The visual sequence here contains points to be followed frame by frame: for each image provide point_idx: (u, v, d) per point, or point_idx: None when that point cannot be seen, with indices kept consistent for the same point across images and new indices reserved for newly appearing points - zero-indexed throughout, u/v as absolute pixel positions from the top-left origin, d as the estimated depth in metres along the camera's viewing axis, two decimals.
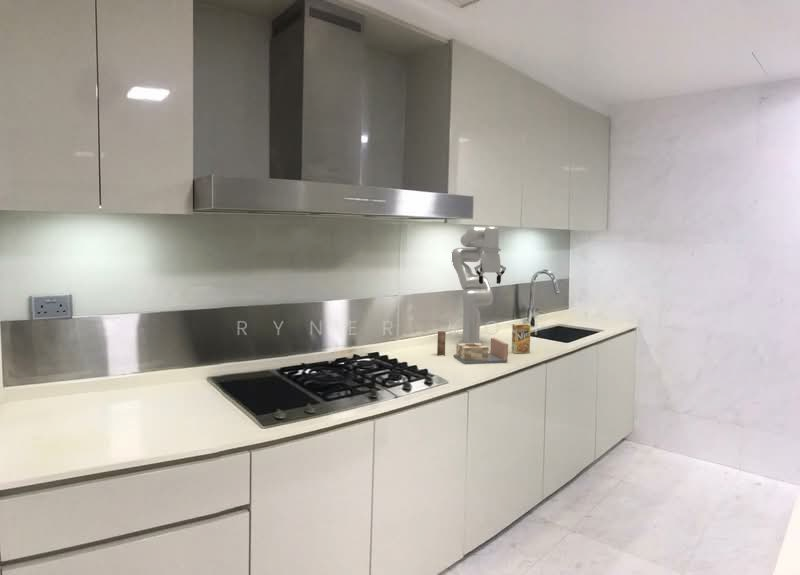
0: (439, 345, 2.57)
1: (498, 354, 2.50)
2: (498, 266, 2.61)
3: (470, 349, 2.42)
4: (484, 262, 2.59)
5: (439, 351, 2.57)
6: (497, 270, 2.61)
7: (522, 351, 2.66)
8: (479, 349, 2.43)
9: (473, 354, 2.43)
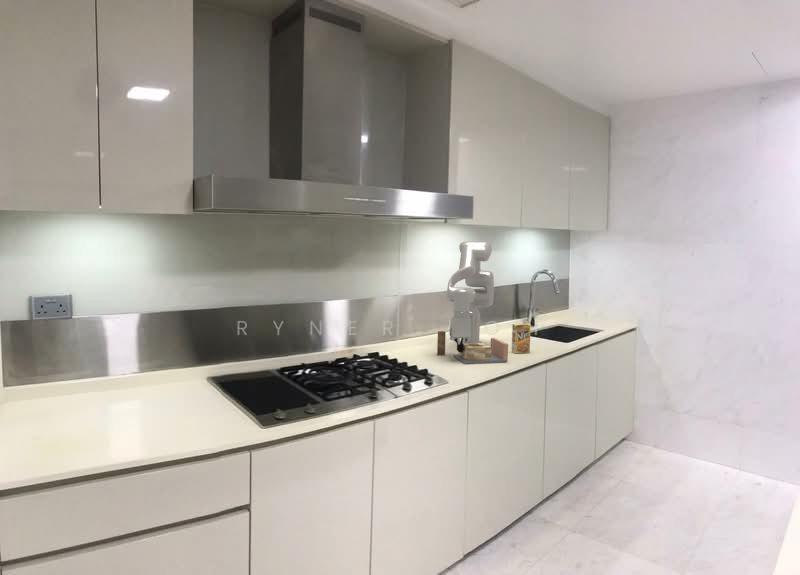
0: (439, 345, 2.57)
1: (498, 354, 2.50)
2: (469, 331, 2.44)
3: (473, 349, 2.42)
4: (454, 327, 2.42)
5: (439, 351, 2.57)
6: (468, 335, 2.44)
7: (522, 351, 2.66)
8: (482, 349, 2.44)
9: (476, 354, 2.43)
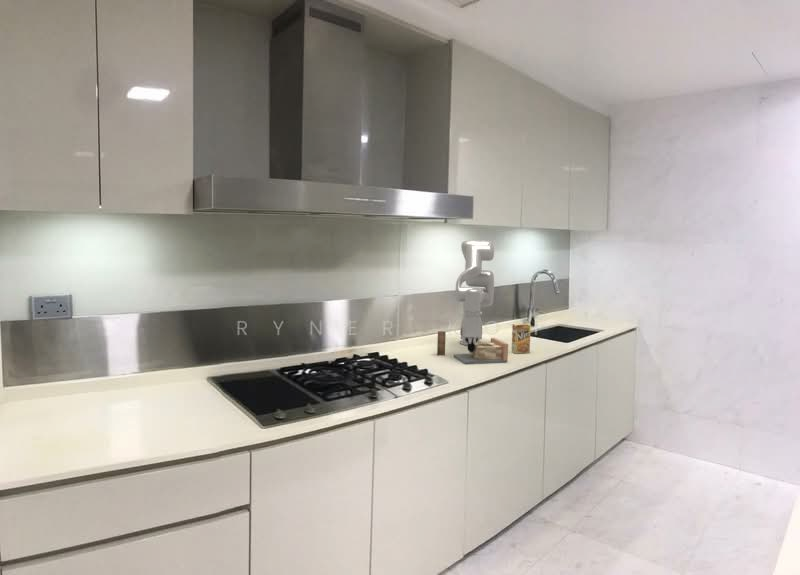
0: (439, 345, 2.57)
1: None
2: (480, 331, 2.45)
3: (484, 349, 2.44)
4: (465, 327, 2.44)
5: (439, 351, 2.57)
6: (479, 335, 2.46)
7: (522, 351, 2.66)
8: (493, 349, 2.45)
9: (487, 354, 2.44)
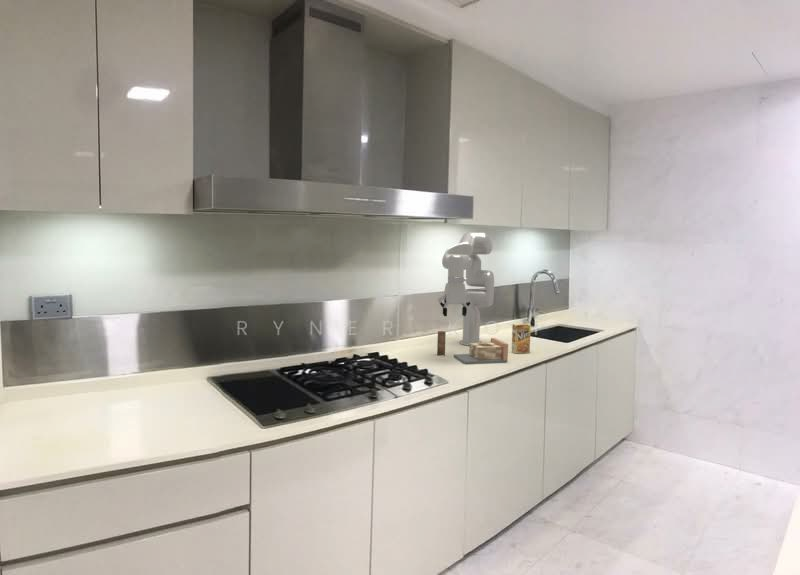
0: (439, 345, 2.57)
1: None
2: (463, 297, 2.43)
3: (484, 349, 2.44)
4: (448, 293, 2.41)
5: (439, 351, 2.57)
6: (462, 302, 2.43)
7: (522, 351, 2.66)
8: (493, 349, 2.45)
9: (487, 354, 2.44)
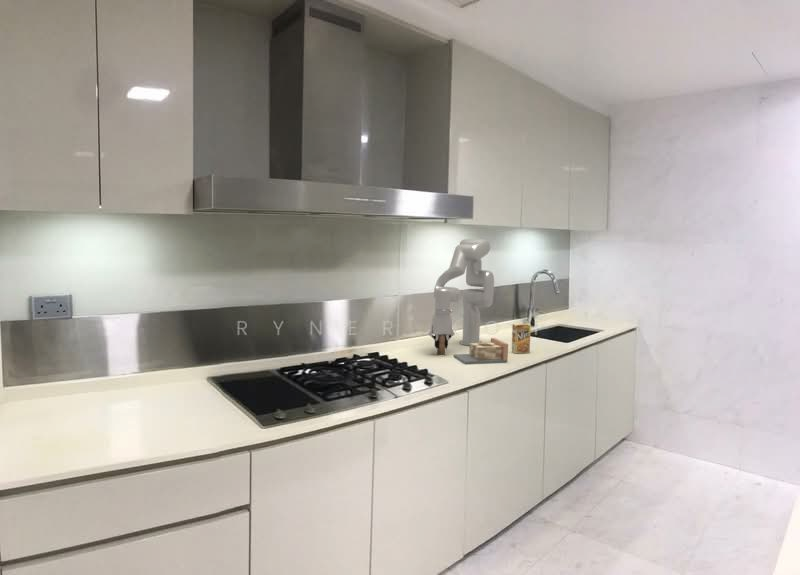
0: (439, 345, 2.57)
1: None
2: (449, 328, 2.57)
3: (484, 349, 2.44)
4: (435, 325, 2.55)
5: (439, 351, 2.57)
6: (448, 332, 2.57)
7: (522, 351, 2.66)
8: (493, 349, 2.45)
9: (487, 354, 2.44)
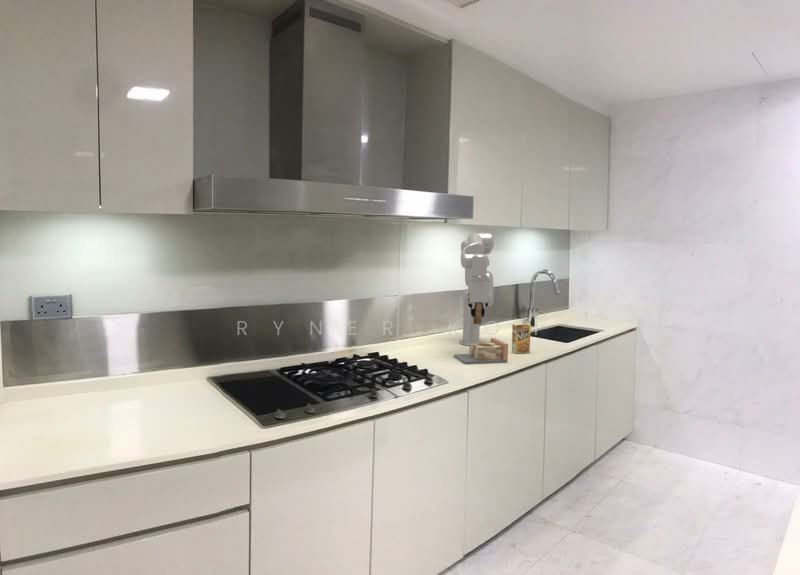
0: (475, 313, 2.49)
1: None
2: (486, 296, 2.48)
3: (484, 349, 2.44)
4: (471, 292, 2.47)
5: (475, 320, 2.49)
6: (485, 300, 2.48)
7: (522, 351, 2.66)
8: (493, 349, 2.45)
9: (487, 354, 2.44)
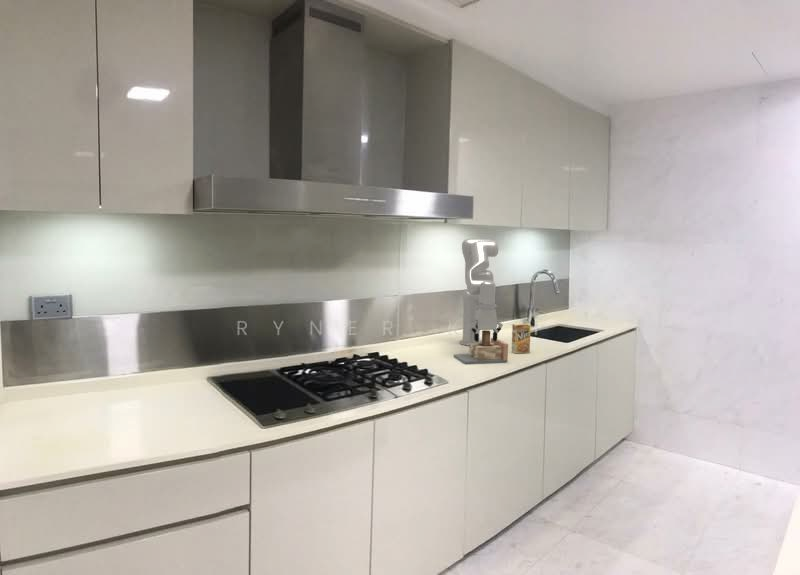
0: (484, 345, 2.49)
1: None
2: (494, 323, 2.48)
3: (484, 349, 2.44)
4: (480, 319, 2.46)
5: None
6: (493, 327, 2.48)
7: (522, 351, 2.66)
8: (492, 349, 2.45)
9: (487, 354, 2.44)
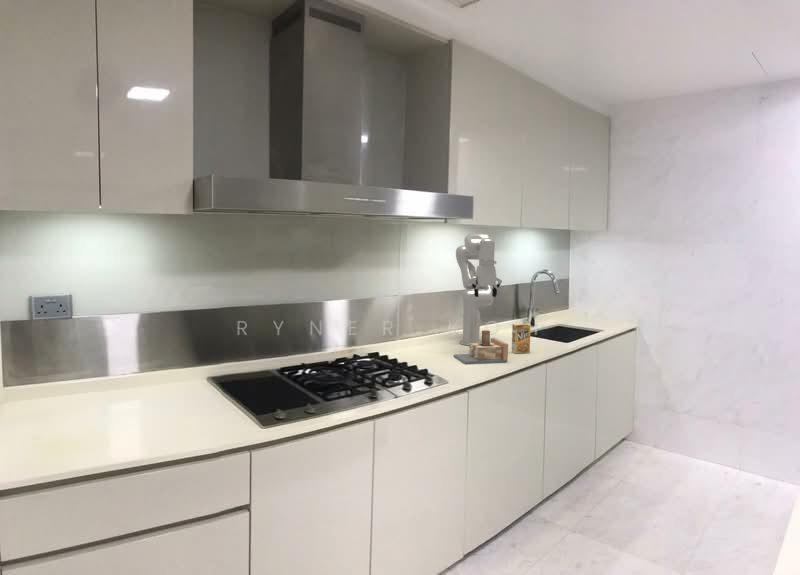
0: (484, 345, 2.49)
1: None
2: (494, 279, 2.57)
3: (484, 349, 2.44)
4: (479, 275, 2.55)
5: None
6: (493, 283, 2.57)
7: (522, 351, 2.66)
8: (492, 349, 2.45)
9: (487, 354, 2.44)
